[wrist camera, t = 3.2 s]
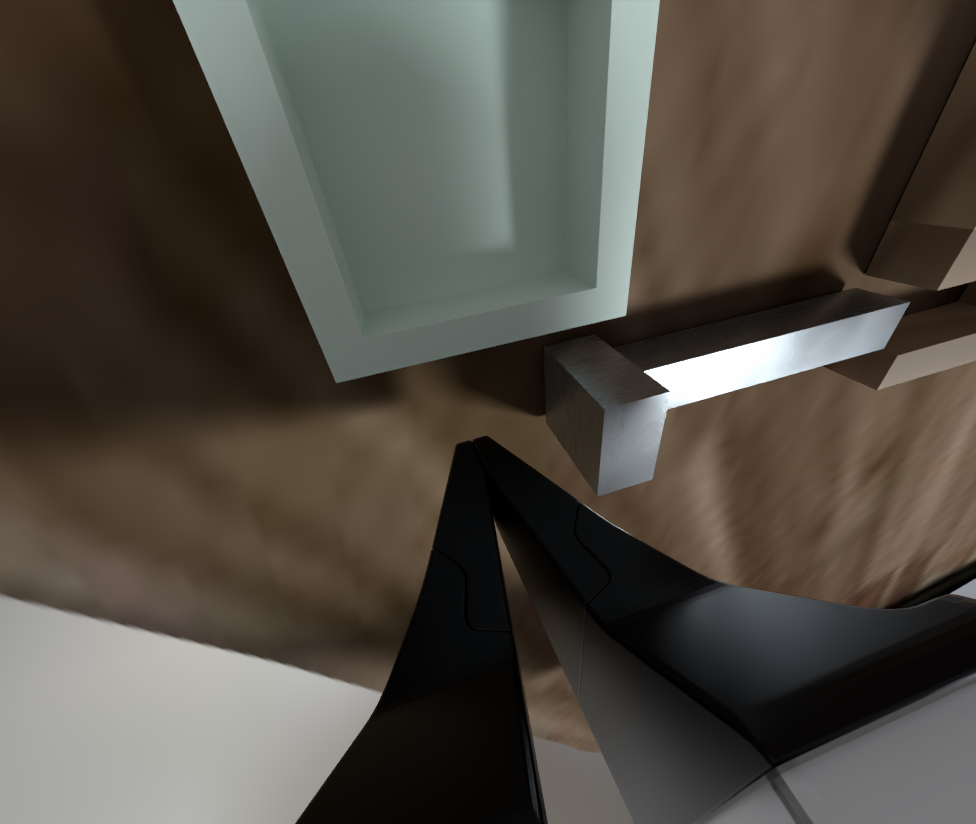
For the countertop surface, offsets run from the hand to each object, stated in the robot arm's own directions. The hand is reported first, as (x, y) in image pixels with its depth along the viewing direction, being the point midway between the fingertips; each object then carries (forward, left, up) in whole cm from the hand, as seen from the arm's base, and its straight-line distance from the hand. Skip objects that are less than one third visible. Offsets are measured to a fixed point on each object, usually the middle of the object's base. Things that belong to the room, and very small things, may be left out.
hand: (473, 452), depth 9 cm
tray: (+6, -1, -2) cm, 7 cm away
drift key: (0, -9, -2) cm, 10 cm away
